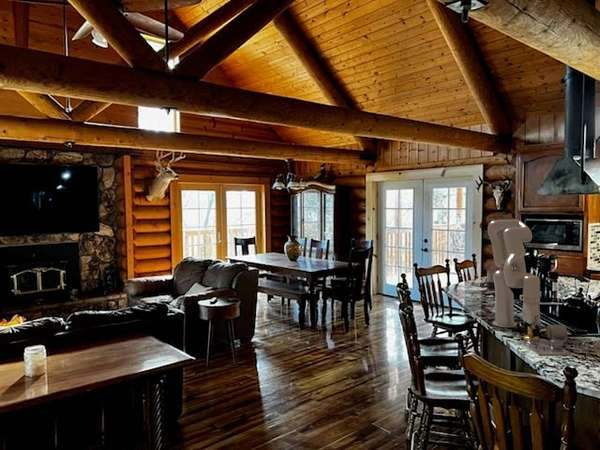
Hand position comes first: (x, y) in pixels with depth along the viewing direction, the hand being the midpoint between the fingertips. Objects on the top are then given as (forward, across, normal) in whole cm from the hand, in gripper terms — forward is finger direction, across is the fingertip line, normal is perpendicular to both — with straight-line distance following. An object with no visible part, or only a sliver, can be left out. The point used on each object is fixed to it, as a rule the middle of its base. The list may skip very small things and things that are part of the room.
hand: (531, 333), depth 226 cm
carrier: (+3, +14, 0) cm, 14 cm away
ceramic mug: (+4, +1, +13) cm, 13 cm away
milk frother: (+3, -136, +30) cm, 139 cm away
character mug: (+3, -54, +24) cm, 59 cm away
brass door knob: (+3, 0, 0) cm, 3 cm away
